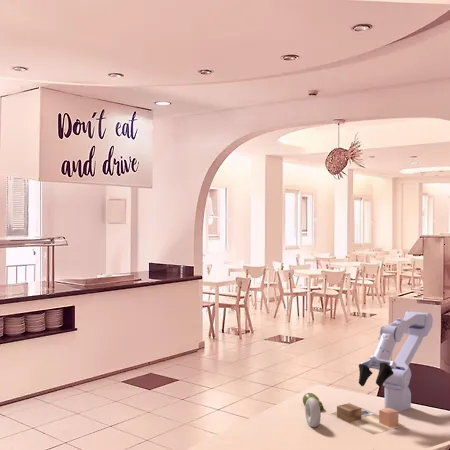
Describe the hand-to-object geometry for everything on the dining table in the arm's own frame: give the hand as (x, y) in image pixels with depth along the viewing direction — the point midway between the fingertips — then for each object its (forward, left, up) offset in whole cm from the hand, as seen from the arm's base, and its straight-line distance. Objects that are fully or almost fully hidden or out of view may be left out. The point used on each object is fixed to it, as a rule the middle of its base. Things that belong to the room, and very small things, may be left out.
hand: (369, 384), depth 193 cm
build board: (-1, -3, -14) cm, 15 cm away
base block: (+3, -7, -13) cm, 15 cm away
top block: (-5, +4, -13) cm, 15 cm away
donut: (+18, -9, -14) cm, 25 cm away
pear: (+6, -23, -15) cm, 28 cm away
